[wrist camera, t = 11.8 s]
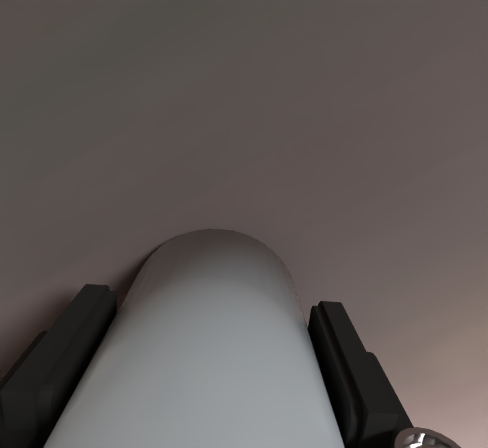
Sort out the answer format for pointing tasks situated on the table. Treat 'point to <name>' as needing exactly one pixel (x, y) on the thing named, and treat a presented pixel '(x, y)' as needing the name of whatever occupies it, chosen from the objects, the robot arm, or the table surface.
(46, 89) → the table surface
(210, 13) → the table surface
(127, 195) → the table surface
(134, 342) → the jar
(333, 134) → the table surface
